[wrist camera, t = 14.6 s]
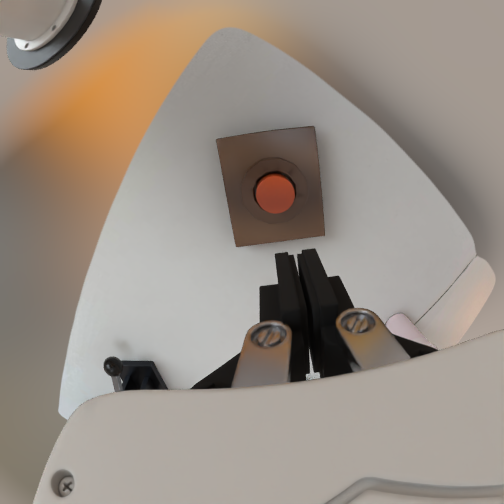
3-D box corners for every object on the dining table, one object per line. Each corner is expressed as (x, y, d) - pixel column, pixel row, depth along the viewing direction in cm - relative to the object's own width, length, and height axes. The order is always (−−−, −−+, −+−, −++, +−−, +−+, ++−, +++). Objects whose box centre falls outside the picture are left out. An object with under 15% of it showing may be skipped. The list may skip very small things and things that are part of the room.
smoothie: (370, 335, 40) (400, 406, 27) (390, 302, 37) (430, 371, 24) (401, 340, 40) (433, 404, 28) (420, 309, 38) (462, 371, 25)
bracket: (114, 360, 44) (90, 410, 33) (152, 361, 43) (132, 416, 32) (136, 394, 48) (119, 441, 37) (172, 396, 47) (159, 447, 36)
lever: (108, 354, 39) (97, 359, 36) (124, 354, 39) (114, 359, 35) (126, 423, 38) (118, 432, 35) (142, 426, 38) (134, 434, 34)
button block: (218, 138, 29) (213, 140, 25) (310, 126, 28) (318, 125, 24) (237, 240, 34) (234, 254, 30) (321, 228, 33) (328, 242, 29)
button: (253, 176, 27) (253, 179, 25) (290, 171, 27) (292, 174, 25) (259, 211, 28) (259, 216, 27) (294, 206, 28) (296, 211, 27)
